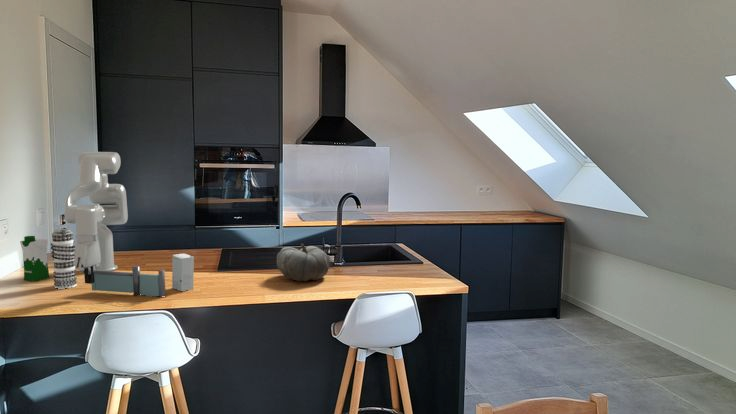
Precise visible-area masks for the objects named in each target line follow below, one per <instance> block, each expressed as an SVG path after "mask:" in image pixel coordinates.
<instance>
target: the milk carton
mask: <svg viewBox="0 0 736 414" xmlns="http://www.w3.org/2000/svg"><path fill="white" fill-rule="evenodd" d="M23 239H24V240H20V241H19V244H20V246H21V250H22V258H23V280H24V281H28V282H39V281H42V280H46V279H50V278H51V277H50V272H49V263H48V244H49V243H48V242H49V239H44V238H37V237H36V236H35V235H27V236H24V237H23Z"/></svg>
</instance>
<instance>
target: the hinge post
mask: <svg viewBox="0 0 736 414" xmlns="http://www.w3.org/2000/svg"><path fill="white" fill-rule="evenodd" d="M131 270H132V272H131V273H132V274H133V296H134V295H140V274H141V267H140V266H139V265H133V266H132V268H131ZM140 296H141V295H140Z"/></svg>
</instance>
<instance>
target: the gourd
mask: <svg viewBox="0 0 736 414" xmlns="http://www.w3.org/2000/svg"><path fill="white" fill-rule="evenodd" d="M300 246H301V248H300V249H298V248H294V247H292V246H285V247H283V248H281V250H280V251H279V252H278V253H277V255H276V267H277V270H279V272H280V273H281V274H282V275H283V276H285V277H286V278H288V279H290V280H294V281H297V282H307V281H309V280H310V281H317V280H321V279H322V278H323V277H325V276H326V275H327V273H328V271H329V269H330V265H331V263H330V262H331V260H330V257H329V255H328V254H327V253H326V252H325V251H324V250H323V249H321V248H320V247H318V246H313V245H309V246H306V247H305V245H304V243H300Z"/></svg>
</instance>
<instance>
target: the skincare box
mask: <svg viewBox="0 0 736 414" xmlns="http://www.w3.org/2000/svg"><path fill="white" fill-rule="evenodd" d="M171 263H172V264H171V265H172V269H171V271H172V273H171V275H172V277H171V283H172V284H171V285H172V286H171V288H172V289H173V288H174V289H175V290H176V289H177V291H180V292H181V291H183V292H187V291H186V290H188V291H191V289H192V290H194V277H195V275H194V273H195V271H194V269H195V267H194V265H195V264H194V263H195V257H194V256H192V255H190V254H187V253H184V252H183V253H178V254H177V253H176V254H172V262H171Z"/></svg>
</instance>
